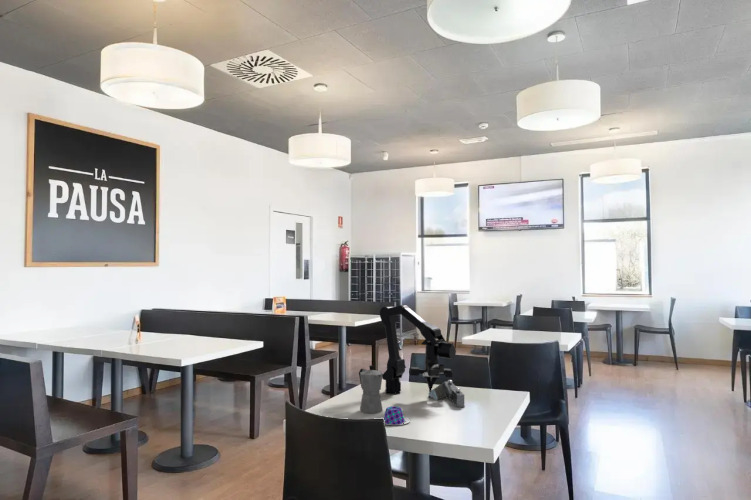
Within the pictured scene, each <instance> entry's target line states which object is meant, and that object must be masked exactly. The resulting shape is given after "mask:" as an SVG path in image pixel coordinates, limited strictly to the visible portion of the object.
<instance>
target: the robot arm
mask: <svg viewBox="0 0 751 500" xmlns="http://www.w3.org/2000/svg"><path fill="white" fill-rule="evenodd" d="M399 315H400V316H403V317H404V318H405V319H406V320H407V321H408V322H410V323H411V324H412V325H413V326H414V327H416V329H417V330H418V331H419V332H420V334H421V335H422V337H423V338H424V340H423V342H421V345H422V346H423V345H424V346H425V352H424V353H425V355H424V369H422V368H420V367H418V366H410V367H409V368H408V373H409V375H410V376H412V377H413V376H416V377H417V376H419V375H422V377H423V378H424V379H425V380H426V384H427V387H428V390H429V391H428V393H429V392H431V390H433V387H434V384H435V382H436V381H437V380H438V379H440V375H442V376H443V375H444V376H445V377H446V378H454V370H452V369H451V368H445V364H439V358H442V359H448V360H449V359H450V360H453V359H454V358H455V357H456V354H457V351H456V347H455V346H454V342H447V341H446V339H445V337H444V336H443V334H442V330H441V328H439V327H438V326H436V325H434V324H432V323H429V322H428V321H426V320H424V319H423V318H422V317H421V316H420V315H418V314H417V313H416V312H415V311H414V310H412V309H411V308H410V307H409V306H408V305H406V304H400V305H398V306H394V305H390V306H383V307H381V308H380V310H379V317H380V320H381V322H382V324H383V326H384V329H385V330H384V331H385V336H386V337H385V338H386V344H387V351H388V352H387V353H388V360H387V362H386V370H385V371H384V373H383V376H382V381H383V380H384V381H385V389H384V392H385V394H387V395H388V394H390V395H391V394H392V395H393V394H401V392H402V391H401V390H402V388H401V387H402V384H401V381H400V380H401V379H402V378H403V374H405V371H406V368H407V366H406V360H405V358H403V359H402V357H401V356H400V351H399V350H400V348H399V343H398V335H397V328H396V325H397V324H396V323H397V322H398V321H397V320H398V316H399Z"/></svg>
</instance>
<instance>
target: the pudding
mask: <svg viewBox="0 0 751 500" xmlns="http://www.w3.org/2000/svg"><path fill="white" fill-rule="evenodd" d="M380 418H384V420H385V425H389V426H397V425H398V426H403V425H406V424H408V423H410V421H411V419H410V418H408V417H406V416H404V413H403V409H402V407H400V406H395V405H394V406H393V405H392V406H387V407H386V409H385V411H384V415H383V416H382V417H380ZM405 421H406V422H405ZM404 422H405V423H404ZM403 423H404V424H403Z"/></svg>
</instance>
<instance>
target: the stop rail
mask: <svg viewBox="0 0 751 500" xmlns="http://www.w3.org/2000/svg"><path fill="white" fill-rule="evenodd" d="M444 382H445V383H446V386H447V388H448V390H449V393H450V398H449V400H451V402H452V403H453V404H454V405H455V406H456V408H465V394H464V393H463V392H462V391H461V387H457V386H456V385H455V383H453V380H452V379H448V380H447V381H444Z"/></svg>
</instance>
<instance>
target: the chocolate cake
mask: <svg viewBox="0 0 751 500" xmlns="http://www.w3.org/2000/svg"><path fill="white" fill-rule="evenodd" d="M445 382H446V381H443V382H442V383H440V384H438V385H437V386H436V387H435V388H432V389H431V392H429V391H428V394H427V395H428V397H429V398H433V400H437V401H438V400H441V399H443V398H447V399H450V393H449V390H448V388H447V386H446V383H445Z"/></svg>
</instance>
